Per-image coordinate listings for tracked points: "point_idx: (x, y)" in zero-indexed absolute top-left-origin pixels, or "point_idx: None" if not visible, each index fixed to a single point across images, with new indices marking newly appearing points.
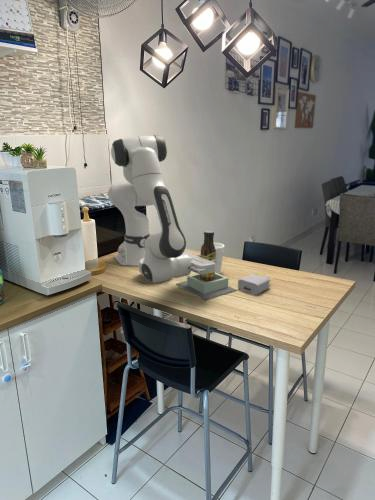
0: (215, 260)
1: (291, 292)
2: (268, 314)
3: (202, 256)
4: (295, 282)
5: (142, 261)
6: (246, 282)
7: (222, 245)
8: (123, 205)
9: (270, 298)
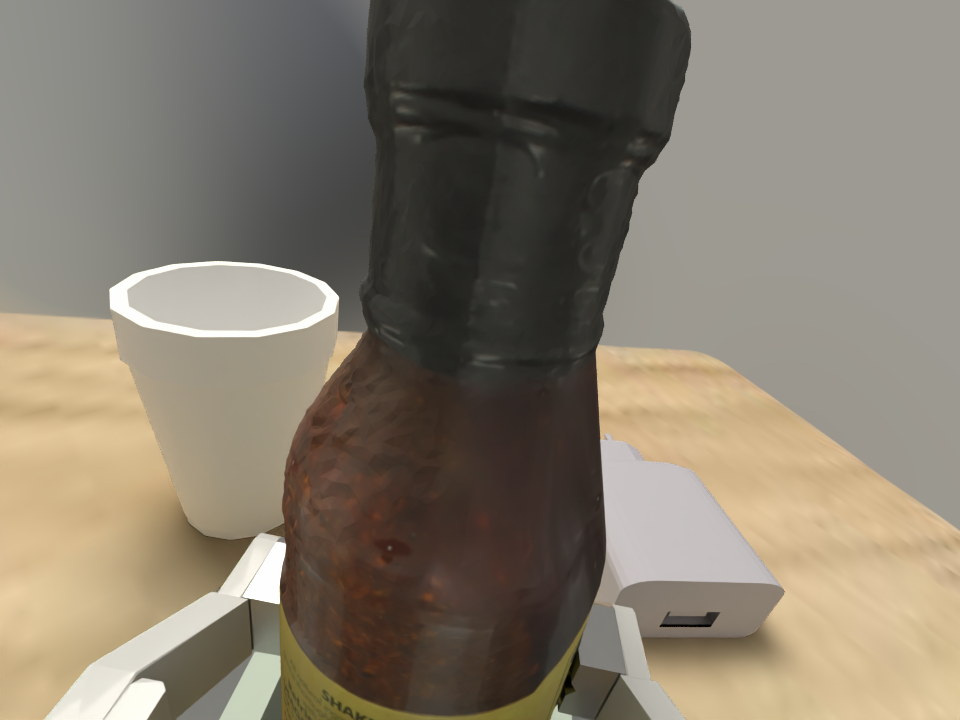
0: (633, 632)
1: (751, 492)
2: None
3: None
4: (647, 410)
5: None
6: (697, 589)
7: (302, 283)
8: None
9: (823, 623)
